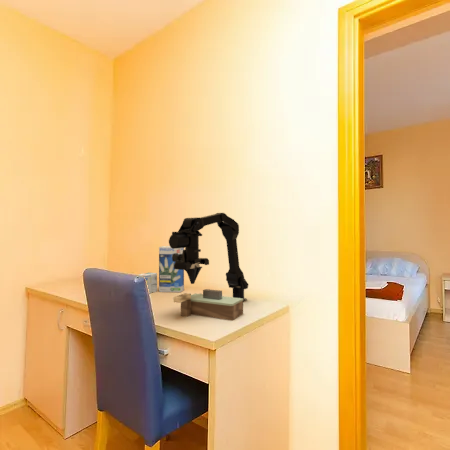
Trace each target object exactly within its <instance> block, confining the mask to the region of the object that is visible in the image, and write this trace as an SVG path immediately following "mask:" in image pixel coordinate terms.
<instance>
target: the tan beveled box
mask: <svg viewBox="0 0 450 450" xmlns="http://www.w3.org/2000/svg"><path fill="white" fill-rule="evenodd" d="M191 295H192V294H191V293H187V292H186V293H181V294H178V295H176V296H173V303H176V304H177V303H179V304H181V302H183V301H186V300H189V299H191Z"/></svg>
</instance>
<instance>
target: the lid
mask: <svg viewBox="0 0 450 450" xmlns="http://www.w3.org/2000/svg"><path fill="white" fill-rule="evenodd" d="M190 300H191V301H194V302H202V303H211V304H219V305H227V306H234V305H235V304H237V303H239V302H241V301H243V298H234V297H233V296H223V290H219V289H210V288H206V289H203V290H202V293H193V294H191V299H190ZM243 302H244V301H243Z"/></svg>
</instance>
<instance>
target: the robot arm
mask: <svg viewBox="0 0 450 450" xmlns="http://www.w3.org/2000/svg"><path fill="white" fill-rule="evenodd" d="M212 224H213V225H214V224H216V225H217V227H218V228H219V229H220V231H221V234H222V236H223V237H224V239H225V241H226V251H227V258H228V267H229V268H228V271H227V272H226V273H225V276H226V279H225V280H226V282H227V285H228V288H230V289H232V297H234V298H243V302H244V301H246V300H247V298H245V290H247V289H248V288H249V283H248V281H247V280H246V279H245V276H244V272H243V270H242V269H241V267H240V262H239V260H240V259H239V252H238V242H237V239H238V236H239V233H240V225H239V223H238V222H237V221H235V219H233V218H232V217H229V216H228V215H227V214H226V213H225V212H217V213H213V214H209V215H205V216H201V217H186V218H184V219H183V221H182V223H181V225H180V227H179V229H178V231H172V232H171V235H170V236H169V239H168V245H169V246H170V247H171V248H173V249H175V248H184V250H183V253H182V254H179V255H178V253H175V254H172V261H174V262H175V263H174V269H180V270H184V272H186V274H187V276H188V279H189V282H190V285H194V284H195V283H196V280H197V278H198V276H199V273H200V271H201V270H202V269H203V266H200V265H204V266H208V265H210V260H209V259H208V258H207V257H200V253H201V251H202V250H201V249H200V248H199V247H200V246H199V245H200V244H199V240H200V237H202V236H203V233H201V232H200V230H202V229H203V228H204V227H206V226H209V225H212Z"/></svg>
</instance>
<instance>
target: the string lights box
mask: <svg viewBox="0 0 450 450" xmlns="http://www.w3.org/2000/svg"><path fill="white" fill-rule="evenodd" d="M183 250H185V248H175V249H173V248H171V247H170V245H169V246H168V245H167V246H164V245H162V246H159V247H158V292H160V293H182V292H183V291H185V270H180V269H174V263H175V262H174V261H172V254H175V253H178V255H179V254H182V253H183Z"/></svg>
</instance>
